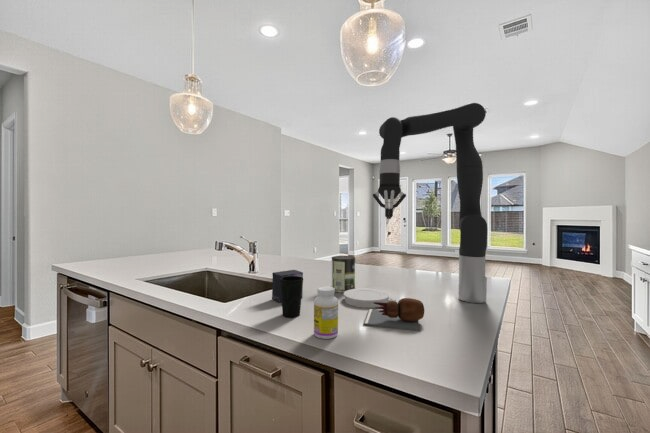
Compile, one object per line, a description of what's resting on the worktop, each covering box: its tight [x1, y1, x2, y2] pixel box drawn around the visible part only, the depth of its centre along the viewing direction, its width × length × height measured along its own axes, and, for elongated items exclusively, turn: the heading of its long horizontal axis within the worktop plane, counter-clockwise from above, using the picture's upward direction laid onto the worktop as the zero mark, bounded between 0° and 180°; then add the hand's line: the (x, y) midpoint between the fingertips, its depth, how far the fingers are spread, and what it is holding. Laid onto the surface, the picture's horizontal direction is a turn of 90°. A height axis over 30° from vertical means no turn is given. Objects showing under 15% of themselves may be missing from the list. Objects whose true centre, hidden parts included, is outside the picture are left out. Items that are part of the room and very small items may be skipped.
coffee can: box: [331, 255, 356, 293], centre depth 134 cm, size 10×10×14 cm
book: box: [362, 308, 420, 332], centre depth 97 cm, size 16×14×1 cm
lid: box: [343, 287, 397, 309], centre depth 118 cm, size 17×20×3 cm
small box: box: [271, 269, 304, 304], centre depth 120 cm, size 11×6×10 cm, turn 131°
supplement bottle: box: [313, 286, 339, 340], centre depth 85 cm, size 7×7×13 cm
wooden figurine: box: [374, 297, 425, 321], centre depth 95 cm, size 7×6×15 cm
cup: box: [280, 276, 304, 319], centre depth 101 cm, size 8×8×12 cm
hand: (388, 218), depth 117 cm, fingers closed
